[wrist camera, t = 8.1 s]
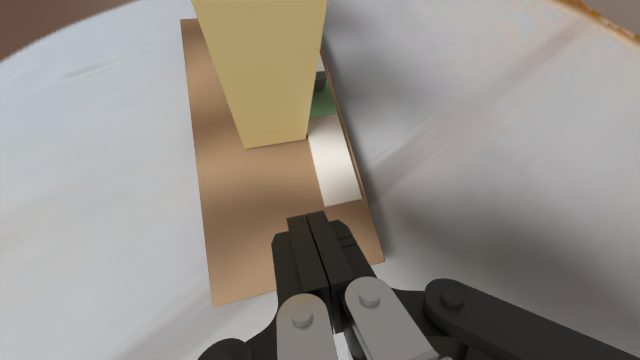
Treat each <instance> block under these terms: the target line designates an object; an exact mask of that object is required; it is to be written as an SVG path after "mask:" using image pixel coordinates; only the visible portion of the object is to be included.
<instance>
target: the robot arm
mask: <svg viewBox="0 0 640 360" xmlns="http://www.w3.org/2000/svg"><path fill="white" fill-rule="evenodd" d="M286 220H287V226H288V231H286V232H281V233H277V234H275V236H274V238H273V241H272V243H271V248H272V255H273V264H274V272H275V280H276V288H277V296H278V309H277V313H276V315H275V317H274V319H273V320H272V322H271V323H270V324H269V326H268V327H266V328H265V329H264V330H263V331H262V332H260V333H259V334H257V335H256V336H254V337H253V338H251V339H249V340H248V341H246V342H243V341H241V340H239V339H235V338H229V339H224V340H221V341H218V342H217V343H215V344H213V345H212V346H210V347H209V348H208V349H207V350H206V351H204V352H203V354H202V355H201V356H200V357H199V358H198V360H338V356H337V352H336V347H335V343H334V338H333V335H334V333H333V327H334V330H335V334H337V333H341V332H343V333H344V336H345V339H346V341H347V344H348V355H349V359H350V360H640V358H638V357H636V356H634V355H631V354H629V353H627V352H624V351H622V350H619V349H617V348H615V347H612V346H610V345H608V344H605V343H603V342H600V341H598V340H596V339H593V338H591V337H589V336H586V335H584V334H581V333H579V332H577V331H574V330H572V329H570V328H567V327H565V326H562V325H560V324H558V323H555V322H553V321H551V320H548V319H546V318H543V317H541V316H539V315H536V314H534V313H531V312H529V311H527V310H524V309H522V308H520V307H517V306H515V305H512V304H510V303H508V302H505V301H503V300H501V299H498V298H496V297H493V296H491V295H489V294H486V293H484V292H482V291H479V290H477V289H474V288H472V287H470V286H467V285H465V284H463V283H460V282H458V281H455V280H451V279H445V278H444V279H436V280H433V281H431V282H430V283H429V284H428V285H427V286H426V288H425V291H406V290H398V289H394V288H391V287H389V285H387V284H386V283H385V282H384V281H382V280H380V279H378V278H377V277H376V275H375V274H374V272H373V270H372V268H371V266H370V265H369V263H368V261H367V259H366V257H365V256H364V254H363V252H362V250H361V249H360V247H359V245H358V244H357V241H356V240H355V238H354V237H353V234H352V233H351V231H350V229H349V227H348V226H347V225H346V224H344V223H343V222H341V221H340V220H339V219H338V220H334V221H330V222H329V221H328V219H327V217H326V214H325V212H324V211H323V210H321V211H316V212H311V213H307V214H305V215H304V214H303V215H298V216H293V217H289V218H286Z"/></svg>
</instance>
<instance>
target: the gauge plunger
mask: <svg viewBox="0 0 640 360" xmlns="http://www.w3.org/2000/svg"><path fill="white" fill-rule="evenodd" d="M191 1H192V4H193V7H194V10H195V13H196V15H197V18H198V21H199V24H200V27H201V29H202V32H203V35H204V38H205V40H206V43H207V46H208V49H209V52H210V54H211V57H212V60H213V63H214V66H215V68H216V71H217V74H218V77H219V80H220V82H221V85H222V88H223V91H224V93H225V96H226V99H227V102H228V105H229V107H230V110H231V113H232V116H233V119H234V121H235V124H236V127H237V130H238V133H239V135H240V138H241V141H242V144H243V147H244V149H248V148H254V147H260V146H267V145H273V144H279V143H285V142H291V141H298V140H304V139H306V134H307V127H308V121H309V115H310V108H311V102H312V96H313V91H318V90H324V89H325V85H326V80H327V77H326V73H325V71H319V72H316V71H317V64H318V58H319V52H320V45H321V39H322V33H323V26H324V20H325V14H326V8H327V1H328V0H191Z"/></svg>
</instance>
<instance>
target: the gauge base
mask: <svg viewBox="0 0 640 360" xmlns="http://www.w3.org/2000/svg"><path fill="white" fill-rule="evenodd" d="M180 22H181V31H182V40H183V49H184V58H185V67H186V76H187V85H188V93H189V102H190V111H191V120H192V129H193V138H194V147H195V156H196V165H197V173H198V182H199V191H200V200H201V209H202V218H203V227H204V236H205V245H206V254H207V262H208V271H209V280H210V289H211V298H212V307H217V306H221V305H224V304H228V303H232V302H236V301H239V300H243V299H247V298H251V297H254V296H258V295H262V294H266V293H269V292H273V291H277V288H276V280H275V272H274V264H273V255H272V248H271V243H272V241H273V238H274V236H275V234H277V233H281V232H286V231H288V226H287V220H286V218H289V217H293V216H298V215H303V214H304V215H305V214H307V213H311V212H316V211H321V210H323V211H324V212H325V214H326V217H327V219H328V221H329V222H330V221H334V220H338V219H339V220H340V221H341V222H343V223H344V224H346V225H347V226H348V227H349V229H350V231H351V233H352V234H353V237H354V238H355V240H356V241H357V244H358V245H359V247H360V249H361V250H362V252H363V254H364V256H365V257H366V259H367V261H368V263H369V265H370V266H371V265H374V264H378V263H382V262H385V259H384V256H383V252H382V249H381V245H380V242H379V239H378V235H377V232H376V228H375V225H374V222H373V218H372V215H371V212H370V208H369V205H368V201H367V198H366V195H365V191H364V188H363V184H362V181H361V178H360V174H359V171H358V168H357V164H356V161H355V157H354V154H353V151H352V147H351V144H350V141H349V137H348V134H347V130H346V127H345V124H344V120H343V117H342V113H341V110H340V107H339V103H338V100H337V97H336V93H335V90H334V86H333V83H332V80H331V76H330V73H329V70H328V66H327V63H326V59H325V56H324V53H323V49H322V46H321V45H320V52H319V58H318V64H317V71H316V72H319V71H325V73H326V77H327V80H326V85H325V89H324V90H318V91H313V96H312V102H311V108H310V115H309V121H308V127H307V134H306V139H304V140H298V141H291V142H285V143H279V144H273V145H267V146H260V147H254V148H248V149H244V147H243V144H242V141H241V138H240V135H239V133H238V130H237V127H236V124H235V121H234V119H233V116H232V113H231V110H230V107H229V105H228V102H227V99H226V96H225V93H224V91H223V88H222V85H221V82H220V80H219V77H218V74H217V71H216V68H215V66H214V63H213V60H212V57H211V54H210V52H209V49H208V46H207V43H206V40H205V38H204V35H203V32H202V29H201V27H200V24H199V21H198V18H196V19H181V20H180Z"/></svg>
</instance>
